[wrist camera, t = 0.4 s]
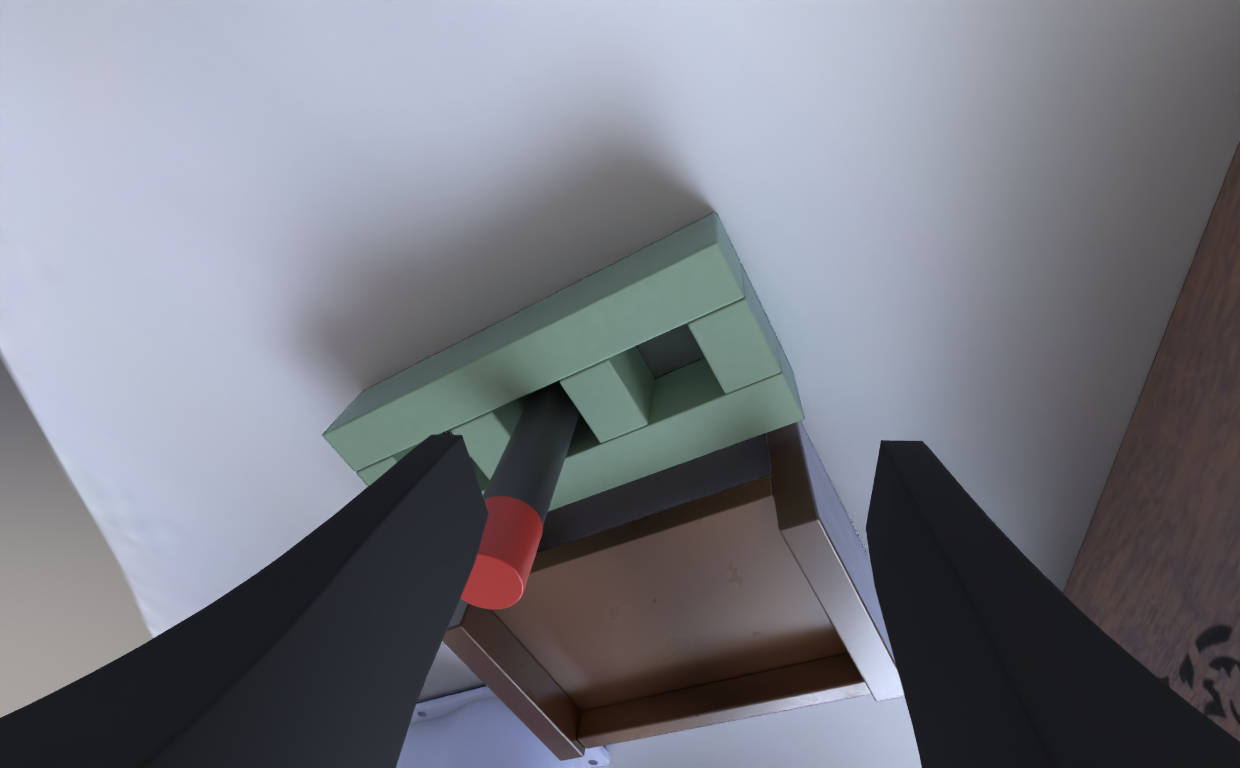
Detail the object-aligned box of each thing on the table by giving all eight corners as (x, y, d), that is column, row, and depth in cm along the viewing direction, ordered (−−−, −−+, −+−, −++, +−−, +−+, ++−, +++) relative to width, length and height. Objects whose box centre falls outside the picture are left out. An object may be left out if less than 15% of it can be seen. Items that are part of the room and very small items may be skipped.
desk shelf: (584, 641, 30) (560, 762, 25) (484, 521, 26) (433, 633, 22) (872, 564, 25) (912, 695, 20) (794, 406, 22) (819, 517, 17)
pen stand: (793, 371, 21) (805, 419, 18) (456, 502, 26) (429, 555, 24) (716, 210, 18) (717, 240, 16) (362, 390, 24) (320, 435, 21)
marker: (556, 410, 23) (475, 617, 15) (529, 370, 22) (428, 567, 14) (599, 392, 22) (539, 598, 14) (572, 350, 22) (492, 544, 14)
